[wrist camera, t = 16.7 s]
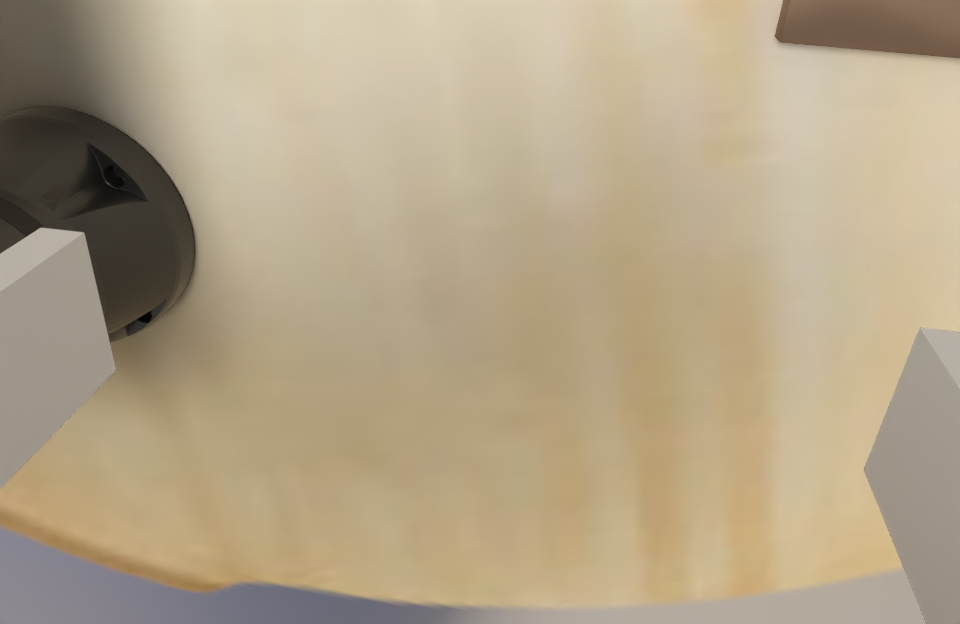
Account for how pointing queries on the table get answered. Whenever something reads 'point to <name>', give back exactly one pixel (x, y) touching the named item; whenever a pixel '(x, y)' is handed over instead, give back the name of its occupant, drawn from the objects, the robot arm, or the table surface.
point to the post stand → (874, 25)
